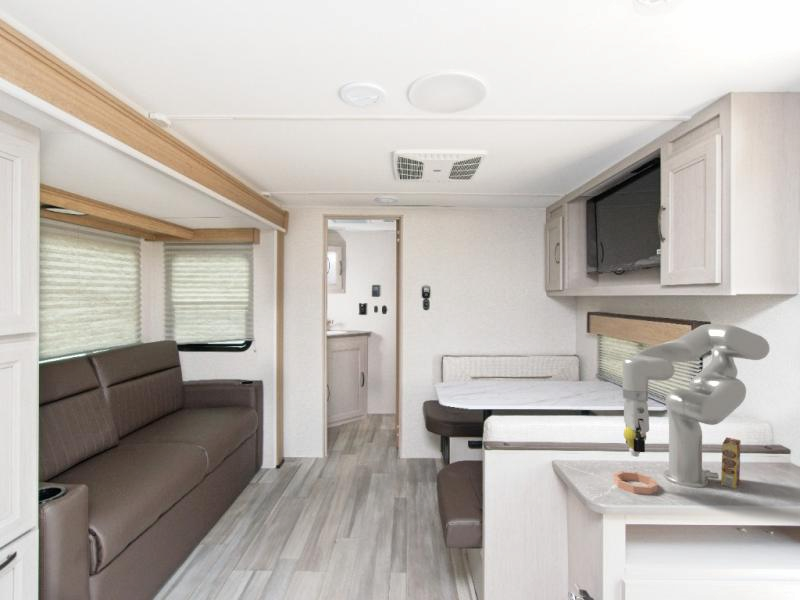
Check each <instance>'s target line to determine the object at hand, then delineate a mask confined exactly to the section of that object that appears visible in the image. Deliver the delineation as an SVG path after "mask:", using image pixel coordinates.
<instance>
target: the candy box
mask: <svg viewBox="0 0 800 600" xmlns="http://www.w3.org/2000/svg"><path fill="white" fill-rule="evenodd" d="M741 443H742V441H741V439H738V438H734V437H725V439H724V441H723V442H722V448H721V449H722V450H721V451H722V452H721V456H722V457H721V475H720V476H721V481H720V482H721V483H720V485H721V486H724V485H725V487H728V486H729V487H728V488H732V487H733V489H737V487H738V485H739V483H738V482H740V475H741V474H740V473H741V469H740V468H741ZM737 484H738V485H737Z"/></svg>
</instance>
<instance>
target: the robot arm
mask: <svg viewBox="0 0 800 600" xmlns="http://www.w3.org/2000/svg"><path fill="white" fill-rule="evenodd" d="M710 351H711V360H710V361H711V362H709V364H708V365H706V367H704V368H703V369H702V370H700V371H699V373H697V374H696V375H694V377H693V378H692V379H691V380H690V382H689V385H688V388H689V389H683V388H674V389H672V390H669V392H668V393H667V395H666V397H665V407H666V411H667V417H668V418H667V419H668V469H666V470H664V471H663V476H664V478H665V479H666V480H668V481H670V483H671V482H672V483H673V484H676V485H680V486H684V487H688V488H705V487H707V486H708V484H709V481H708V479H719V478H720V476H719V474H718V472H713V471H712V472H711V471H710V470H709V469H703V431H702V427H701V424H704V425H709V426H713V425H718V424H720V423H722V422H723V421H724V420H725V419H726V418H728V417H729V416H730V415H731V414H732V413H733V412H734V411H735V410H736V409H738V408H739V407H740V406H741V405H742V404H743V402H744V400H745V399H746V396H747V388H746V385H745V383H744V382H743V381H742V380H741V379H739V378H737V376H738V369H737V366H736V364H735V358H736V359H743V360H750V361H752V360H753V361H759V360H763V359H765V358H766V357H767V356H769V355H768V354H769V353H770V345H769V343H768V340H767V339H766V338H765V337H763V336H761V335H759V334H756V333H754V332H751V331H749V330H747V329H744V328H742V327H739V326H735V325H729V324H716V323H707V324H702V325H700V326H697V327H696V328H694V329H692V330H691V331H689V332H687V333H685V334H684V335H682V336H680V337H679V338H677V339H674V340H673V339H672V340H670V341H666V342H665V341H664V342H663V343H659V344H655V345H652V346H649V347H646V348H645V349H642V350H640V351H639V352H637V353H636V354H634V355H633V356H632V357H627V358H625V359H623V362H622V399H624V405H623V406H624V407H623V422H624V423H625V429H626V428H627V427H630V428H631V429H632V430H633V431H634V436H635V439H634V451H635V452H640V453H646V452H645V451H646V440H645V436H646V437H647V433H648V432H649V431H650V419H649V418H650V416H649V415H650V414H649V406H648V401H649V381H650V380H651V381H658V382H659V381H660V382H664V381H668V380H670V379H671V378H672V377H674V375H675V372H676V371H675V366H674V364H673V363H676V364H677V363H687V362H693V361H695V360H697V359H698V358H700V357H701V356H703V355H705V354H706V353H708V352H710ZM700 423H701V424H700ZM636 428H638V429H640V430H636ZM637 432H640V433H639V434H638V435H637ZM625 443H626V444H627V445H629V444H628V443H627V441H626V440H625Z"/></svg>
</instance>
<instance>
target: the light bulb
mask: <svg viewBox="0 0 800 600" xmlns="http://www.w3.org/2000/svg"><path fill="white" fill-rule="evenodd" d="M636 430H640V429H638V428H636ZM639 433H640V432H637V435H638V434H639ZM623 436H624V437H623V438H624V439H625V442H626V441H627V443H628V444H627V443H626V444H627V445H629V450H628V451H629V452H630V456H632V457H637V458H638V457H639V456H640V454H641V452H635V451H634V439H635V436H634V431H633V430H632V429H631V428H630V427H627V428H626V427H625V429H624V430H623ZM646 440H647V435H646V436H645V441H646Z"/></svg>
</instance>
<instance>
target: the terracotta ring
mask: <svg viewBox="0 0 800 600" xmlns="http://www.w3.org/2000/svg"><path fill="white" fill-rule="evenodd" d="M626 481H636V482H639V483H642V484H645V485H648V486H645V485H637V484H631V483H629V482H626ZM613 483H614V484H615V486H616V487H617V488H618V489H620V490H623V491H627V492H629V493H632V494H636V495H640V494H641V495H653V494H655V493H656V492H658V491H659V484H658V483H657V481H656V480H655V479H654V478H653V477H651V476H648V475H645V474H642V473H641V472H640V473H639V472H637V471H625V470H621V471H618V472H616V473H613Z"/></svg>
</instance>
